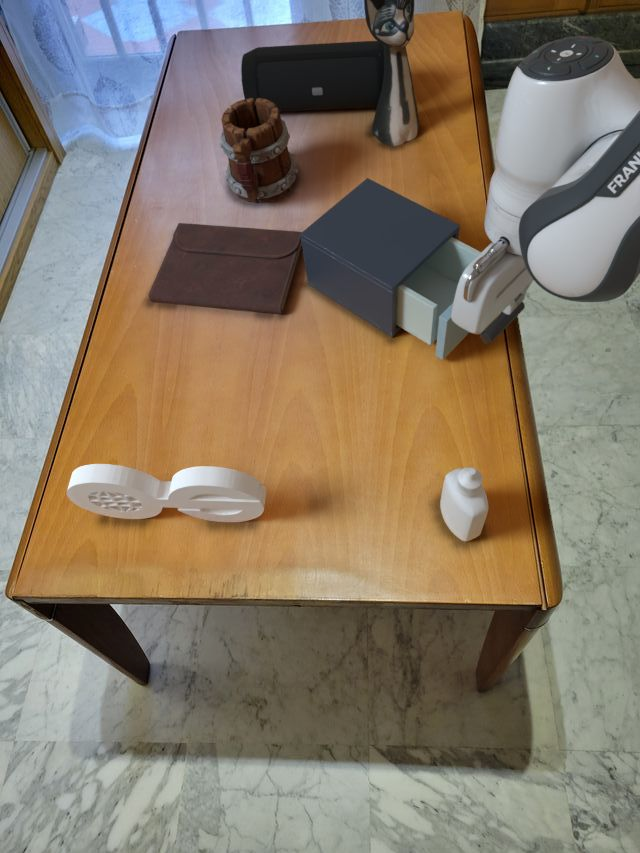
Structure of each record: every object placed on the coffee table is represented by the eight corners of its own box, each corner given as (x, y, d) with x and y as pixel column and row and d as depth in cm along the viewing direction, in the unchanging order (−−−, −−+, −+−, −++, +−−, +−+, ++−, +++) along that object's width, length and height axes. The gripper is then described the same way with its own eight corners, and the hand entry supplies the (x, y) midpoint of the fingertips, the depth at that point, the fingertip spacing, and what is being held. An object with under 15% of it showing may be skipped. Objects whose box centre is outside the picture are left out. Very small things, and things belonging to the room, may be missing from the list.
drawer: (529, 319, 83) (542, 277, 77) (473, 379, 79) (481, 341, 73) (413, 254, 91) (415, 211, 84) (357, 307, 87) (354, 266, 80)
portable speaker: (248, 125, 112) (237, 69, 103) (255, 91, 117) (244, 35, 108) (394, 119, 109) (394, 61, 100) (395, 85, 114) (395, 26, 105)
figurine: (373, 153, 105) (369, -14, 83) (358, 128, 108) (350, -38, 87) (426, 137, 106) (435, -33, 84) (408, 113, 109) (413, -55, 88)
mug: (305, 152, 106) (291, 75, 92) (294, 223, 101) (278, 153, 87) (237, 152, 108) (213, 76, 94) (224, 222, 103) (196, 153, 89)
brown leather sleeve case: (282, 316, 89) (279, 306, 87) (151, 303, 92) (146, 293, 91) (304, 239, 96) (303, 229, 94) (182, 230, 100) (179, 220, 98)
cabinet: (453, 278, 89) (460, 225, 81) (392, 337, 85) (392, 288, 77) (369, 231, 96) (367, 177, 87) (307, 284, 91) (299, 233, 83)
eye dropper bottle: (478, 496, 72) (493, 446, 62) (480, 543, 70) (496, 499, 59) (439, 495, 73) (448, 445, 63) (440, 542, 70) (449, 497, 60)
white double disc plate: (89, 517, 76) (50, 481, 67) (93, 500, 77) (56, 462, 68) (270, 523, 73) (254, 486, 64) (272, 505, 74) (257, 467, 66)
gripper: (495, 289, 59) (479, 374, 71) (614, 170, 65) (581, 267, 77) (441, 259, 62) (434, 346, 73) (560, 147, 68) (536, 244, 80)
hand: (510, 305), depth 75 cm, fingers closed
